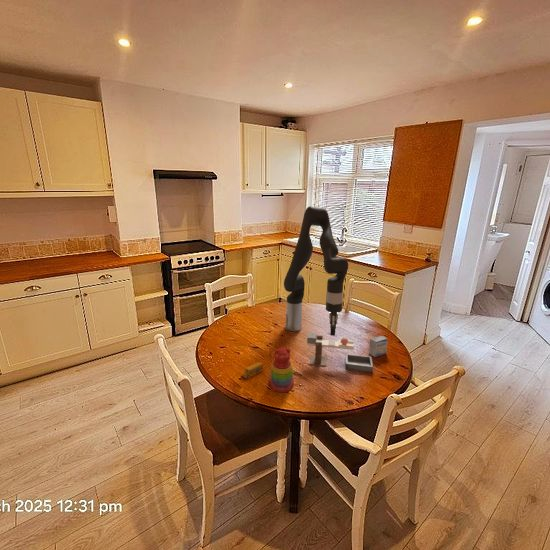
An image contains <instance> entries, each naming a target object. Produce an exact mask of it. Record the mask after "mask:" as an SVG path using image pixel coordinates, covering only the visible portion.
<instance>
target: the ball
mask: <svg viewBox="0 0 550 550" xmlns="http://www.w3.org/2000/svg"><path fill="white" fill-rule="evenodd" d="M340 341H341V343H342V344H343V345H346V344H347V343H348V341H349V340H348V338H346V337H343V338H342V339H340Z"/></svg>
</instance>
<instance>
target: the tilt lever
mask: <svg viewBox="0 0 550 550" xmlns="http://www.w3.org/2000/svg"><path fill="white" fill-rule="evenodd" d="M317 335H318V333H314V332H308V333H307V338H306V340H307V341H306V343H307V345H308V346H311V347H312V346H313V347H314V346H315V347H316V342H322V348H331V349H341V350H342V349H343V350H350V351H354V349H355V345H354V341H353V340H348V343H347V344H346V345H343V344H342V343H341V339H338V340H333V339H329V340H328V339H323V340H321V339H317Z"/></svg>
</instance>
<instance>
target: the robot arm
mask: <svg viewBox="0 0 550 550" xmlns="http://www.w3.org/2000/svg"><path fill="white" fill-rule="evenodd" d="M312 226H314V227H320V228H321V230H322V232H321V234H320V237H319V246H320V249H321V253H322V257H323V270H324V271H325V272H326V273H327V274H328V275H332V274H335V275H334V276H332V277H330V278H328V279H327V282H326V295H325V310H326V312H329V317H328V318H329V328H330V331H329V332H330V334H329V335H330V336H333V337H334V336H336V329H337V325H338V320H339V313H341V312H342V311H343V307H344V306H343V304H344V293H343V292H344V281H345V280H346V275H347V273H348V271H349V261H348V259H347V258H346V257H342V256H340V257H339V256H338V254H339V248H338V245H337V243H336V241H335V239H334V236H333V231H332V226H331V220H330V216H329V213H328V211H327V209H326V208H324V207H320V206H319V207H318V206H310V205H309V206H307V208H306V209H305V211H304V214H303V219H302V223H301V228H300V231H299V236H298V240H297V243H296V245H295V248H294V251H293V255H292V259H291V262H290V265H289V268H288V270H287V272H286V274H285V277H284V279H283V286H284V290H285V291H286V292H289V294H288V295H287V296H286V314H285V330H288V331H291V332H299V331H301V330H302V328H303V299H304V297H305V284H306V283H305V278H304V277H303V276H302V274H300V272H301V271H302V270H303V269H304V268H305V267H306V266H307V264H308V263H309V262H310V261H311V260H310V259H311V257H312V254H313V250H314V245H313V242H312V239H311V235H310V230H311V227H312ZM337 256H338V257H337Z"/></svg>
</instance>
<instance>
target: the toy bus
mask: <svg viewBox="0 0 550 550" xmlns="http://www.w3.org/2000/svg"><path fill="white" fill-rule="evenodd" d="M263 367H264V366H263V363H262V362H260V361H258V362H256V363H253V364H251V365H249V366H247V367H245V370H244V372H242V373H241V377H243V378H244V379H249V378H251V377H253V376H255V375H257V374H259V373H260V372H261V371H263Z"/></svg>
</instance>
